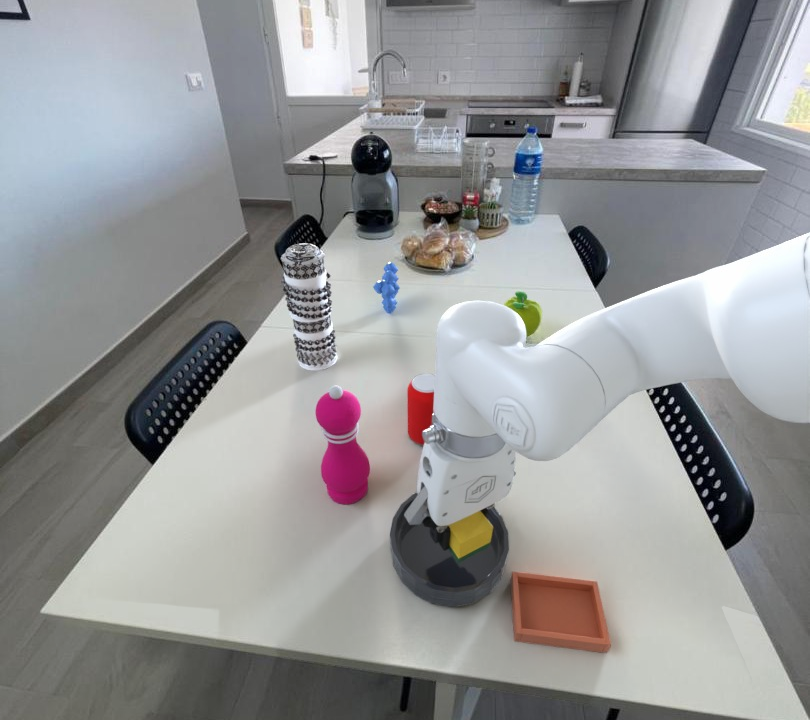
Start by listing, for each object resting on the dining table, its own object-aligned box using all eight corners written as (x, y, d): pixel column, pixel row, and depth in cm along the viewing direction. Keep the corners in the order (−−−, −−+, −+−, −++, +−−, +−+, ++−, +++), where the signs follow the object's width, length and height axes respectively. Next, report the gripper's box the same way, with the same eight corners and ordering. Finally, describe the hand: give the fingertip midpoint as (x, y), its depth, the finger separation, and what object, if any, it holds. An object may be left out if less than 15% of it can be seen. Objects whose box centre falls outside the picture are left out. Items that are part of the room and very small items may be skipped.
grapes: (377, 297, 119) (375, 254, 112) (402, 298, 119) (401, 255, 112) (370, 319, 110) (368, 274, 103) (398, 320, 110) (397, 275, 103)
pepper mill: (365, 464, 72) (356, 365, 61) (376, 500, 67) (369, 398, 55) (320, 475, 71) (303, 375, 59) (328, 513, 65) (310, 411, 53)
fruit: (493, 342, 101) (498, 303, 96) (501, 322, 108) (506, 284, 103) (534, 349, 99) (542, 310, 93) (540, 329, 106) (547, 291, 100)
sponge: (489, 546, 53) (493, 527, 51) (457, 563, 52) (460, 544, 49) (457, 502, 58) (459, 483, 56) (427, 516, 57) (428, 497, 54)
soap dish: (593, 589, 56) (597, 581, 55) (606, 653, 50) (611, 645, 49) (510, 579, 57) (512, 571, 56) (514, 641, 51) (516, 633, 50)
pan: (529, 573, 57) (534, 555, 55) (427, 632, 52) (427, 616, 49) (463, 488, 68) (465, 470, 66) (372, 529, 63) (371, 512, 60)
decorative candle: (302, 346, 101) (284, 238, 86) (343, 347, 100) (331, 239, 85) (290, 370, 93) (268, 257, 79) (334, 372, 92) (320, 258, 78)
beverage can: (409, 450, 75) (409, 395, 68) (406, 424, 80) (405, 371, 73) (445, 447, 75) (448, 393, 68) (440, 422, 80) (442, 369, 73)
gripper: (413, 482, 38) (412, 590, 49) (562, 418, 45) (532, 526, 55) (376, 427, 44) (382, 535, 54) (514, 377, 50) (495, 483, 61)
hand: (458, 530), depth 55 cm, fingers closed on sponge, 4 cm apart
